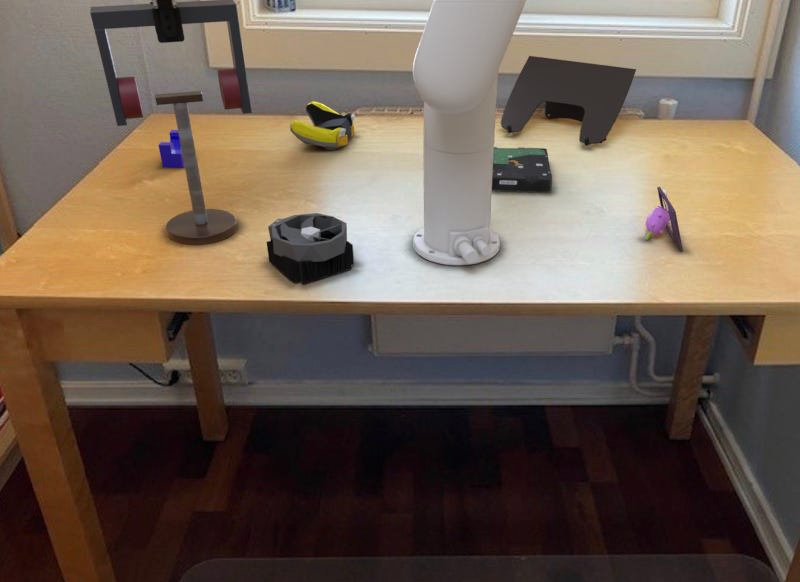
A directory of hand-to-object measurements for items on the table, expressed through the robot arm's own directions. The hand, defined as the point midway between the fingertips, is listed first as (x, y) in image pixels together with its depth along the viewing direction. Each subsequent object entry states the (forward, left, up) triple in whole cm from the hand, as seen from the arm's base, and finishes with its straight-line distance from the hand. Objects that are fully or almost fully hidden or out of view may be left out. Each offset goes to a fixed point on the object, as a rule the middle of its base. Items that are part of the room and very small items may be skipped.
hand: (170, 36), depth 101 cm
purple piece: (-24, -64, -28) cm, 73 cm away
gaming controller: (+33, -26, -28) cm, 50 cm away
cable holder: (+31, +1, -28) cm, 42 cm away
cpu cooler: (-16, -13, -28) cm, 34 cm away
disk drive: (+5, -54, -28) cm, 61 cm away
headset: (0, 0, -10) cm, 10 cm away
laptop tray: (+26, -73, -28) cm, 82 cm away
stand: (0, 0, -27) cm, 27 cm away
